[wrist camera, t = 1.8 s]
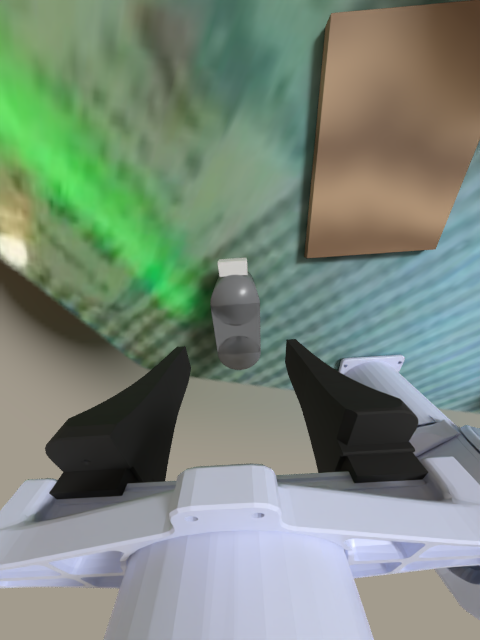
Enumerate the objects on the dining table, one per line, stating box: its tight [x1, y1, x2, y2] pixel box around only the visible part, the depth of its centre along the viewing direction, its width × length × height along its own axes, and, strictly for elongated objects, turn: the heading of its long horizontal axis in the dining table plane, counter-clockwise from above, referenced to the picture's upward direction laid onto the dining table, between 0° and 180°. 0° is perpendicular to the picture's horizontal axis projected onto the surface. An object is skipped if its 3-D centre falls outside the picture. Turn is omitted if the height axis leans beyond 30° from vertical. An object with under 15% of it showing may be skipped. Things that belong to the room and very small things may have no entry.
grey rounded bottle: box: [210, 258, 260, 370], centre depth 18 cm, size 10×4×5 cm, turn 4°
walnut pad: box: [304, 0, 480, 258], centre depth 14 cm, size 14×12×1 cm
